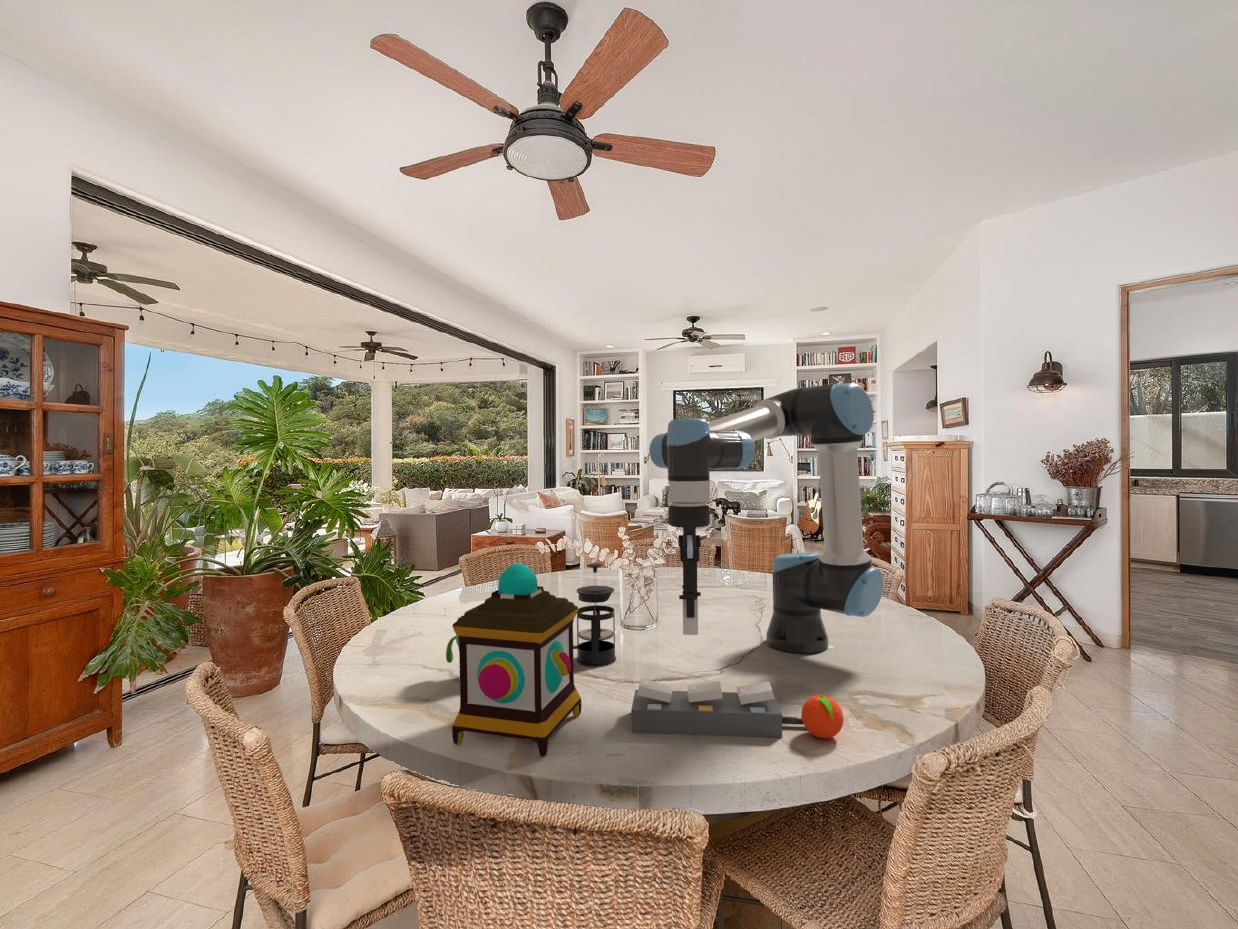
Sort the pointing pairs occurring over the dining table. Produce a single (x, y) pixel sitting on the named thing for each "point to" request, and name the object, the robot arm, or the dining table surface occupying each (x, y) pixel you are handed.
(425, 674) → the dining table surface
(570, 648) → the decorative lantern
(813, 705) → the clementine
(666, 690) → the rocker
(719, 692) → the plate
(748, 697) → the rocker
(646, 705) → the power strip
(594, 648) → the french press
